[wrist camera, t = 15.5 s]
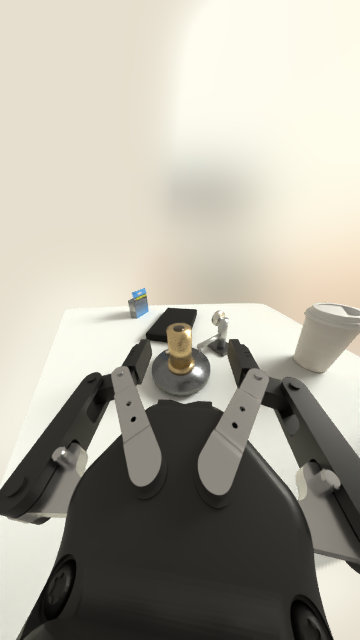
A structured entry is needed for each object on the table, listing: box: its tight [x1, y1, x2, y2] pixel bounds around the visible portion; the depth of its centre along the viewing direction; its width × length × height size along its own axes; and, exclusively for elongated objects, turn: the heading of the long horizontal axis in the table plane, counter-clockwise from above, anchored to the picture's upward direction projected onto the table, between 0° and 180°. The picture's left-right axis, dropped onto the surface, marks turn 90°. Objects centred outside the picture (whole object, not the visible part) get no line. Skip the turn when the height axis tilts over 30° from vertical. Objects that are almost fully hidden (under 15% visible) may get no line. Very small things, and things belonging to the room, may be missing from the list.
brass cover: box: [167, 323, 194, 376], centre depth 30 cm, size 6×6×10 cm
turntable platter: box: [152, 348, 210, 396], centre depth 33 cm, size 14×14×2 cm
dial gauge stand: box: [197, 311, 229, 356], centre depth 37 cm, size 12×6×12 cm, turn 126°
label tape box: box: [128, 288, 148, 318], centre depth 64 cm, size 9×4×12 cm, turn 155°
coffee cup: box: [294, 303, 360, 372], centre depth 31 cm, size 10×10×15 cm
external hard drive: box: [146, 308, 197, 342], centre depth 55 cm, size 14×23×3 cm, turn 166°
